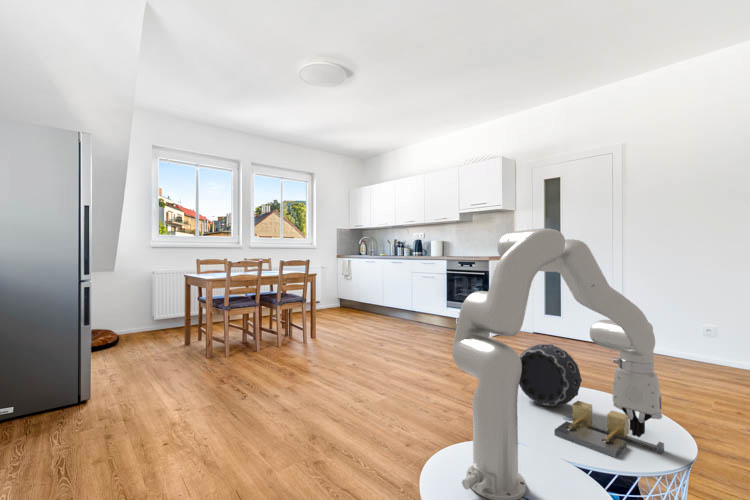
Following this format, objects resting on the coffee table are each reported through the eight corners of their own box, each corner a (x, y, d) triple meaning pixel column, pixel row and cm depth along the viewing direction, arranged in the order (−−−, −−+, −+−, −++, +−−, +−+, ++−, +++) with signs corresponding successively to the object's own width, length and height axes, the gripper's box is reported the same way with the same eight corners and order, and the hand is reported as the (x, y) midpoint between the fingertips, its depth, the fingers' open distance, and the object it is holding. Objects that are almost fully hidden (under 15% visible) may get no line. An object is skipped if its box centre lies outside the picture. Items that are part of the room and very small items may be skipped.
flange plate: (615, 457, 89) (615, 451, 89) (554, 435, 101) (554, 429, 101) (626, 446, 94) (625, 440, 95) (566, 426, 106) (566, 421, 106)
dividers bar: (653, 465, 86) (653, 439, 86) (562, 432, 102) (562, 410, 102) (664, 449, 93) (664, 425, 93) (578, 421, 109) (577, 400, 109)
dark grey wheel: (528, 391, 133) (527, 337, 134) (585, 409, 117) (584, 348, 118) (512, 398, 127) (511, 342, 127) (570, 418, 111) (569, 354, 111)
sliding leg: (615, 446, 92) (615, 427, 92) (598, 440, 95) (597, 422, 95) (628, 433, 99) (628, 415, 99) (612, 427, 102) (611, 410, 102)
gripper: (600, 362, 100) (601, 428, 99) (667, 376, 88) (669, 451, 88) (609, 357, 104) (610, 420, 104) (675, 370, 93) (676, 441, 92)
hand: (637, 434), depth 96 cm, fingers closed
